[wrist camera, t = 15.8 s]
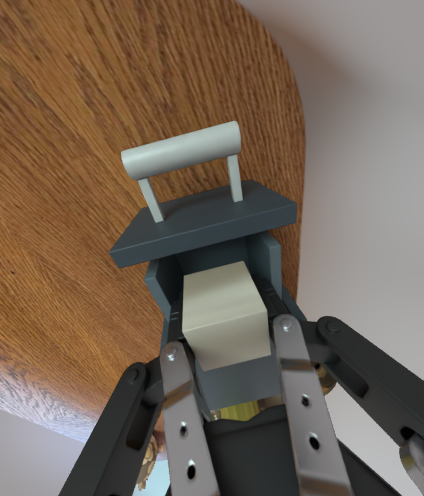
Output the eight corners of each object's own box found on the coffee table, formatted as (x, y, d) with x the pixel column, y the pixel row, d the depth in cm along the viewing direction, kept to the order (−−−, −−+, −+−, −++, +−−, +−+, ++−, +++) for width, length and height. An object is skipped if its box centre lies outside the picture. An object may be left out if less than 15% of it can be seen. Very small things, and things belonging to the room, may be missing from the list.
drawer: (117, 156, 14) (50, 165, 7) (245, 121, 14) (301, 97, 7) (181, 296, 22) (178, 360, 16) (261, 275, 22) (292, 332, 15)
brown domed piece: (167, 420, 57) (153, 425, 46) (170, 472, 50) (155, 492, 39) (135, 431, 56) (114, 438, 45) (134, 486, 49) (108, 511, 37)
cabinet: (170, 275, 22) (158, 356, 13) (261, 252, 22) (307, 319, 13) (198, 335, 29) (202, 413, 20) (267, 317, 28) (300, 389, 20)
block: (183, 275, 12) (181, 331, 8) (243, 260, 12) (267, 310, 8) (199, 313, 14) (203, 371, 10) (249, 301, 14) (271, 355, 10)
